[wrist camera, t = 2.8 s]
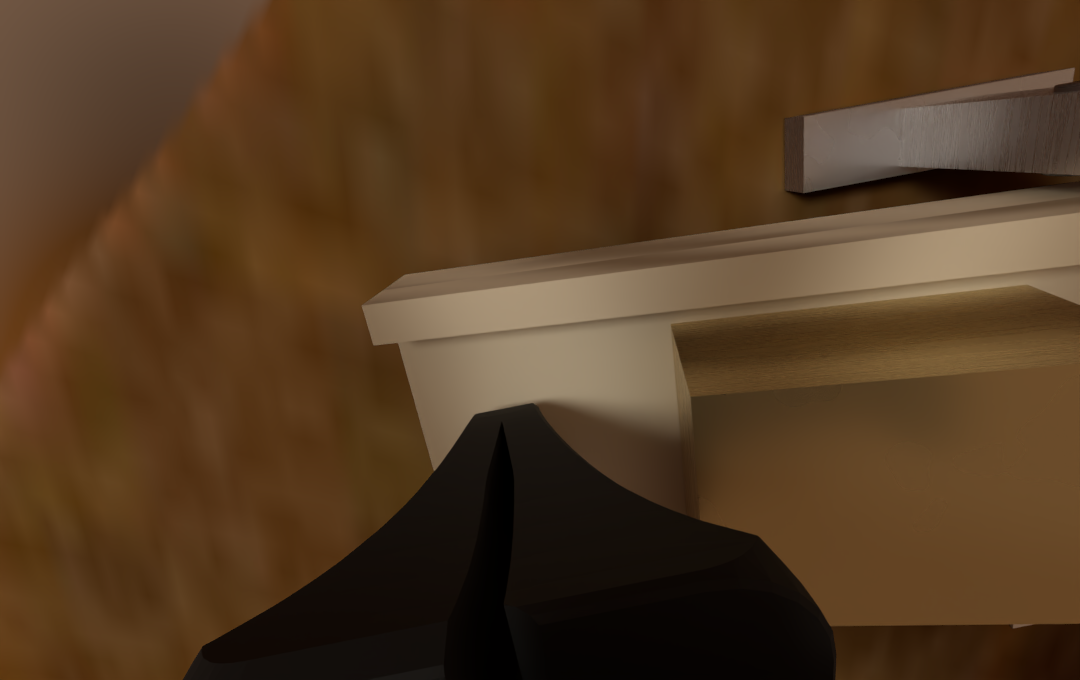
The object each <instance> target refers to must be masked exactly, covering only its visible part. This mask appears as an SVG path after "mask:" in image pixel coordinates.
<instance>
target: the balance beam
mask: <svg viewBox="0 0 1080 680" xmlns="http://www.w3.org/2000/svg"><path fill="white" fill-rule="evenodd" d="M1019 285H1029V286H1032V287H1035V288H1037V289H1040V290H1042V291H1045V292H1047V293H1050V294H1053V295H1055V296H1058V297H1060V298H1063V299H1065V300H1068V301H1071V302H1073V303H1076V304H1078V305H1080V181H1078V182H1071V183H1064V184H1056V185H1049V186H1042V187H1035V188H1028V189H1020V190H1013V191H1006V192H999V193H992V194H984V195H977V196H970V197H963V198H955V199H948V200H941V201H934V202H927V203H919V204H912V205H905V206H898V207H891V208H883V209H876V210H869V211H862V212H854V213H847V214H840V215H833V216H826V217H818V218H811V219H804V220H797V221H790V222H782V223H775V224H768V225H761V226H753V227H746V228H739V229H732V230H725V231H717V232H710V233H703V234H696V235H689V236H681V237H674V238H667V239H660V240H652V241H645V242H638V243H631V244H624V245H616V246H609V247H602V248H595V249H588V250H580V251H573V252H566V253H559V254H551V255H544V256H537V257H530V258H523V259H515V260H508V261H501V262H494V263H487V264H479V265H472V266H465V267H458V268H450V269H443V270H436V271H429V272H422V273H414V274H407V275H404V276H403V277H401V278H400V279H398V280H397V281H396V282H394V283H393V284H391V285H390V286H388V287H387V288H386V289H384V290H383V291H381V292H380V293H379V294H377V295H376V296H374V297H373V298H372V299H370V300H369V301H367V302H366V303H365V304H363V305H362V308H363V311H364V315H365V318H366V322H367V325H368V328H369V332H370V335H371V338H372V342H373V345H382V344H390V343H398V344H399V348H400V351H401V355H402V359H403V362H404V366H405V369H406V373H407V376H408V380H409V384H410V387H411V391H412V394H413V398H414V401H415V405H416V409H417V412H418V416H419V419H420V423H421V426H422V430H423V434H424V437H425V441H426V444H427V448H428V451H429V455H430V459H431V462H432V466H433V469H434V471H435V470H436V469H437V468H438V466H439V465H440V464H441V462H442V461H443V459H444V458H445V457H446V455H447V454H448V452H449V451H450V450H451V448H452V447H453V445H454V444H455V442H456V441H457V439H458V438H459V437H460V435H461V433H462V432H463V430H464V429H465V427H466V426H467V424H468V423H469V422H470V420H471V419H472V417H473V416H474V415H475V414H478V413H483V412H488V411H493V410H498V409H504V408H509V407H514V406H519V405H525V404H530V403H534V404H535V405H537V406H538V407H539V409H540V411H541V413H542V414H543V416H544V417H545V419H546V420H547V422H548V423H549V424H550V425H551V427H552V428H553V429H554V430H555V431H556V432H557V434H558V435H559V436H560V437H561V438H562V439H563V440H564V441H565V442H566V443H567V444H568V445H569V446H570V447H571V448H572V449H573V450H574V451H575V452H577V453H578V454H579V455H580V456H581V457H582V458H583V459H585V460H586V461H587V462H588V463H589V464H591V465H592V466H593V467H594V468H596V469H597V470H598V471H600V472H601V473H602V474H604V475H605V476H607V477H608V478H610V479H611V480H613V481H614V482H616V483H617V484H619V485H621V486H622V487H624V488H626V489H628V490H630V491H632V492H634V493H636V494H638V495H640V496H642V497H644V498H646V499H648V500H650V501H652V502H654V503H656V504H659V505H661V506H663V507H666V508H668V509H671V510H673V511H676V512H679V513H682V514H684V515H687V510H686V498H685V487H684V475H683V464H682V452H681V441H680V429H679V418H678V406H677V394H676V383H675V371H674V360H673V348H672V337H671V325H670V324H674V323H683V322H692V321H701V320H710V319H719V318H728V317H737V316H747V315H756V314H765V313H774V312H783V311H792V310H801V309H810V308H819V307H828V306H837V305H846V304H855V303H865V302H874V301H883V300H892V299H901V298H910V297H919V296H928V295H937V294H946V293H955V292H964V291H973V290H982V289H992V288H1001V287H1010V286H1019ZM687 516H688V515H687Z"/></svg>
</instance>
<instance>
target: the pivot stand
mask: <svg viewBox="0 0 1080 680" xmlns="http://www.w3.org/2000/svg"><path fill="white" fill-rule="evenodd" d="M1074 69H1075V68H1069V69H1062V70H1054V71H1047V72H1040V73H1034V74H1028V75H1023V76H1017V77H1012V78H1006V79H1001V80H995V81H990V82H984V83H979V84H973V85H968V86H962V87H956V88H951V89H945V90H940V91H934V92H929V93H923V94H918V95H912V96H907V97H901V98H895V99H890V100H884V101H879V102H873V103H868V104H862V105H857V106H851V107H846V108H840V109H834V110H829V111H823V112H818V113H812V114H807V115H801V116H796V117H790V118H785V190H786V191H793V192H799V193H807V192H812V191H818V190H823V189H829V188H834V187H840V186H845V185H850V184H856V183H861V182H867V181H872V180H878V179H883V178H889V177H894V176H899V175H905V174H910V173H916V172H921V171H927V170H932V169H938V168H944V169H964V170H985V171H1006V172H1026V173H1041V174H1042V175H1047V176H1080V81H1075V82H1072V81H1073V75H1074ZM1008 625H1009V626H1010V627H1012V628H1018V627H1023V626H1028V625H1033V624H1008Z"/></svg>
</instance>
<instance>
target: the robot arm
mask: <svg viewBox="0 0 1080 680" xmlns="http://www.w3.org/2000/svg"><path fill="white" fill-rule="evenodd" d="M835 673H836V650H835V643H834V636H833V630H832V629H831V627H830V625H829V623H828V622H827V620H826V618H825V617H824V615H823V613H822V611H821V610H820V608H819V607H818V605H817V604H816V602H815V601H814V599H813V598H812V597H811V595H810V594H809V593H808V591H807V590H806V589H805V587H804V586H803V585H802V583H801V582H800V581H799V580H798V579H797V577H796V576H795V575H794V574H793V573H792V572H791V571H790V569H789V568H788V567H787V566H786V565H785V564H784V563H783V562H782V561H781V559H780V558H779V557H778V556H777V555H776V554H775V553H774V552H773V551H772V550H771V549H770V548H769V547H768V545H767V544H766V543H765V542H764V541H763V540H762V539H761V538H760V537H759V536H758V535H754V534H750V533H746V532H743V531H739V530H735V529H731V528H727V527H724V526H720V525H716V524H712V523H708V522H705V521H701V520H698V519H695V518H693V517H690V516H687V515H684V514H682V513H679V512H676V511H673V510H671V509H668V508H666V507H663V506H661V505H659V504H656V503H654V502H652V501H650V500H648V499H646V498H644V497H642V496H640V495H638V494H636V493H634V492H632V491H630V490H628V489H626V488H624V487H622V486H621V485H619V484H617V483H616V482H614V481H613V480H611V479H610V478H608V477H607V476H605V475H604V474H602V473H601V472H600V471H598V470H597V469H596V468H594V467H593V466H592V465H591V464H589V463H588V462H587V461H586V460H585V459H583V458H582V457H581V456H580V455H579V454H578V453H577V452H575V451H574V450H573V449H572V448H571V447H570V446H569V445H568V444H567V443H566V442H565V441H564V440H563V439H562V438H561V437H560V436H559V435H558V434H557V432H556V431H555V430H554V429H553V428H552V427H551V425H550V424H549V423H548V422H547V420H546V419H545V417H544V416H543V414H542V413H541V411H540V409H539V407H538V406H537V405H535V404H534V403H530V404H525V405H519V406H514V407H509V408H504V409H498V410H493V411H488V412H483V413H478V414H475V415H474V416H473V417H472V419H471V420H470V422H469V423H468V424H467V426H466V427H465V429H464V430H463V432H462V433H461V435H460V437H459V438H458V439H457V441H456V442H455V444H454V445H453V447H452V448H451V450H450V451H449V452H448V454H447V455H446V457H445V458H444V459H443V461H442V462H441V464H440V465H439V466H438V468H437V469H436V470H435V471H434V472H433V474H432V475H431V476H430V477H429V479H428V480H427V481H426V482H425V483H424V485H423V486H422V487H421V488H420V489H419V491H418V492H417V493H416V494H415V495H414V496H413V497H412V498H411V499H410V500H409V501H408V502H407V504H406V505H405V506H404V507H403V508H402V509H401V510H400V511H398V512H397V513H396V514H395V515H394V516H393V517H392V518H391V519H390V520H389V521H388V522H387V523H386V524H385V525H384V526H383V527H382V528H380V529H379V530H378V531H377V532H376V533H375V534H373V535H372V536H371V537H370V538H368V539H367V540H366V541H365V542H363V543H362V544H361V545H360V546H359V547H357V548H356V549H355V550H354V551H352V552H351V553H350V554H349V555H348V556H346V557H345V558H344V559H343V560H341V561H340V562H339V563H337V564H336V565H335V566H333V567H332V568H330V569H329V570H328V571H326V572H325V573H323V574H322V575H321V576H319V577H318V578H316V579H315V580H313V581H312V582H310V583H309V584H307V585H306V586H304V587H303V588H301V589H300V590H298V591H297V592H295V593H294V594H292V595H291V596H289V597H288V598H286V599H284V600H283V601H281V602H280V603H278V604H276V605H275V606H273V607H271V608H270V609H268V610H266V611H264V612H263V613H261V614H259V615H257V616H256V617H254V618H252V619H250V620H249V621H247V622H245V623H243V624H242V625H240V626H238V627H237V628H235V629H233V630H231V631H230V632H228V633H226V634H224V635H223V636H221V637H219V638H217V639H215V640H213V641H211V642H210V643H208V644H206V645H204V646H203V647H202V649H201V650H200V652H199V653H198V655H197V657H196V658H195V660H194V661H193V663H192V665H191V667H190V668H189V670H188V672H187V674H186V675H185V677H184V679H183V680H835Z"/></svg>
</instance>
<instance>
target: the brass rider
mask: <svg viewBox="0 0 1080 680" xmlns="http://www.w3.org/2000/svg"><path fill="white" fill-rule="evenodd" d="M670 325H671V337H672V348H673V360H674V371H675V383H676V394H677V406H678V418H679V429H680V441H681V452H682V464H683V475H684V487H685V498H686V510H687V515H688V516H690V517H693V518H695V519H698V520H701V521H705V522H708V523H712V524H716V525H720V526H724V527H727V528H731V529H735V530H739V531H743V532H746V533H750V534H754V535H758V536H759V537H760V538H761V539H762V540H763V541H764V542H765V543H766V544H767V545H768V547H769V548H770V549H771V550H772V551H773V552H774V553H775V554H776V555H777V556H778V557H779V558H780V559H781V561H782V562H783V563H784V564H785V565H786V566H787V567H788V568H789V569H790V571H791V572H792V573H793V574H794V575H795V576H796V577H797V579H798V580H799V581H800V582H801V583H802V585H803V586H804V587H805V589H806V590H807V591H808V593H809V594H810V595H811V597H812V598H813V599H814V601H815V602H816V604H817V605H818V607H819V608H820V610H821V611H822V613H823V615H824V617H825V618H826V620H827V622H828V623H829V625H830V626H895V625H999V624H1080V305H1078V304H1076V303H1073V302H1071V301H1068V300H1065V299H1063V298H1060V297H1058V296H1055V295H1053V294H1050V293H1047V292H1045V291H1042V290H1040V289H1037V288H1035V287H1032V286H1029V285H1019V286H1010V287H1001V288H992V289H982V290H973V291H964V292H955V293H946V294H937V295H928V296H919V297H910V298H901V299H892V300H883V301H874V302H865V303H855V304H846V305H837V306H828V307H819V308H810V309H801V310H792V311H783V312H774V313H765V314H756V315H747V316H737V317H728V318H719V319H710V320H701V321H692V322H683V323H674V324H670Z"/></svg>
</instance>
